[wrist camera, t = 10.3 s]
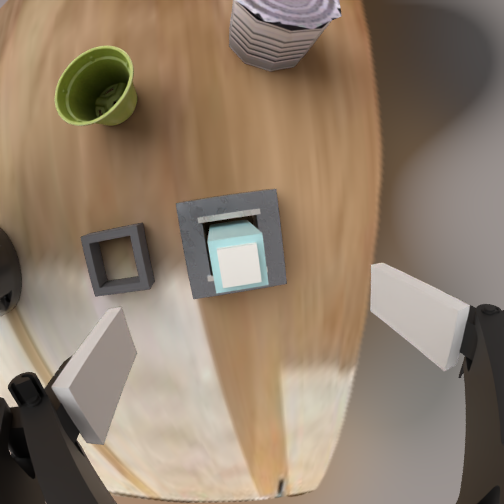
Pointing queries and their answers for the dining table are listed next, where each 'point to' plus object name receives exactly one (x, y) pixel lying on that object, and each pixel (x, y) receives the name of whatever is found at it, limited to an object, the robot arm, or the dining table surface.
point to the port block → (227, 207)
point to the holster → (97, 266)
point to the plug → (237, 256)
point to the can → (278, 30)
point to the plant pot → (97, 88)
